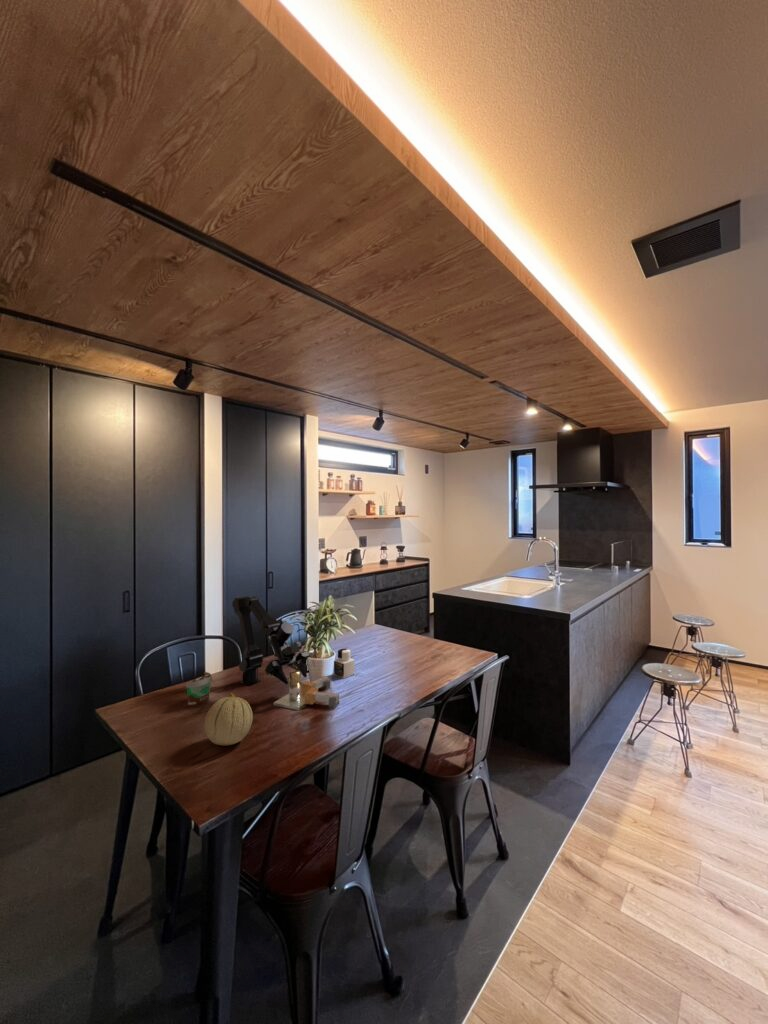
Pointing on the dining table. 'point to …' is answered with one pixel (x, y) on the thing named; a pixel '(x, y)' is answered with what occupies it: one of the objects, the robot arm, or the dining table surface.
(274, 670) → the robot arm
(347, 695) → the dining table surface
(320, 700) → the stand
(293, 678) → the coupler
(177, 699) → the dining table surface
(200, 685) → the food container
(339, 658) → the medicine bottle
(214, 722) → the cantaloupe
